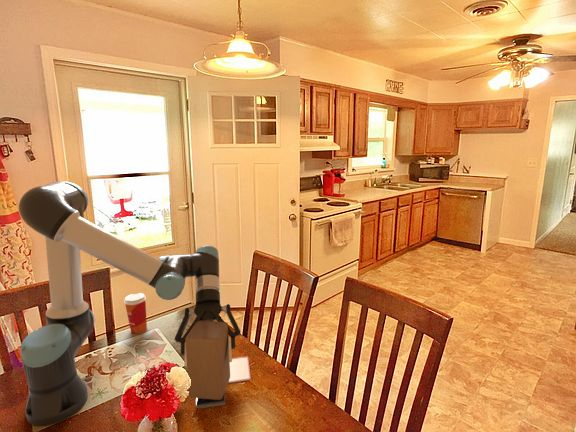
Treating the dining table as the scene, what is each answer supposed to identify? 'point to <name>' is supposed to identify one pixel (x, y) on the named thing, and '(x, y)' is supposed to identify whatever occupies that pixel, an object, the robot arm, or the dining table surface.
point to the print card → (239, 369)
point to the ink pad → (209, 402)
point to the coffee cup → (136, 312)
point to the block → (208, 359)
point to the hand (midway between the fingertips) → (208, 363)
